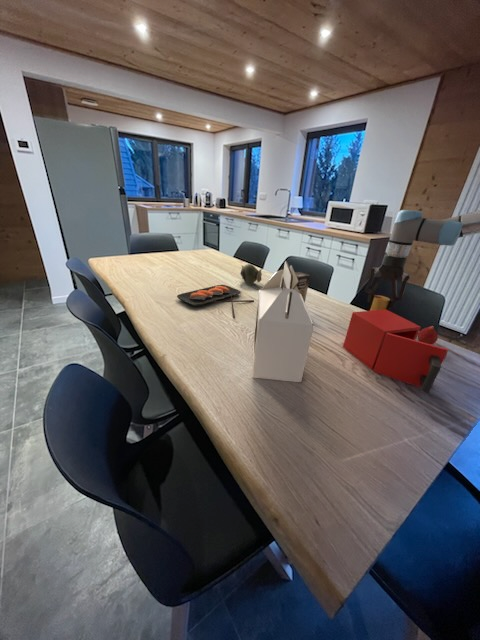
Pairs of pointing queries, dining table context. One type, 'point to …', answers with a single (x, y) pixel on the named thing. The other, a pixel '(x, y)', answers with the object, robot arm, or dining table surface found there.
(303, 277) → the coffee box
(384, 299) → the yellow orange cylinder
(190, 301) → the sushi plate
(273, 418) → the dining table surface
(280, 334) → the gable box
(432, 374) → the red drawer
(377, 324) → the valve cabinet
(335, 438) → the dining table surface
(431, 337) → the onion
